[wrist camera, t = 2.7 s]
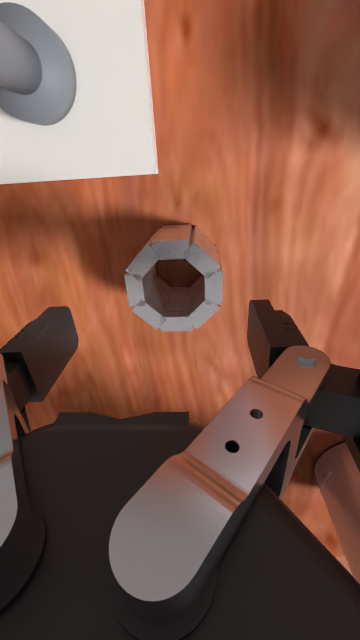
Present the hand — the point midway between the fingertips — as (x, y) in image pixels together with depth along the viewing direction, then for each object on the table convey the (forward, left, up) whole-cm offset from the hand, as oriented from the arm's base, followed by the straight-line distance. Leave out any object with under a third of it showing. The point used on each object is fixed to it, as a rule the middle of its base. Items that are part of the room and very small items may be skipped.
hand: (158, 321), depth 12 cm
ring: (0, 0, -9) cm, 9 cm away
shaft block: (+7, -11, -9) cm, 16 cm away
